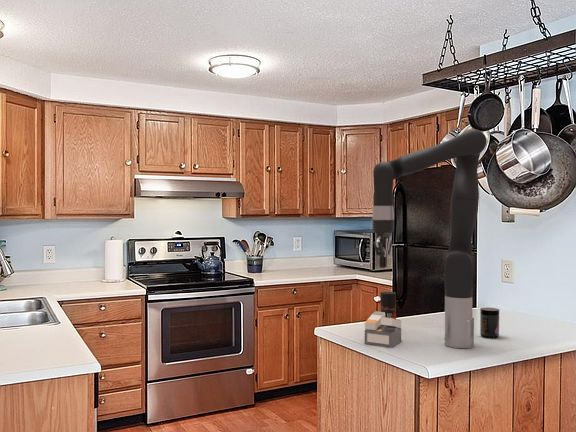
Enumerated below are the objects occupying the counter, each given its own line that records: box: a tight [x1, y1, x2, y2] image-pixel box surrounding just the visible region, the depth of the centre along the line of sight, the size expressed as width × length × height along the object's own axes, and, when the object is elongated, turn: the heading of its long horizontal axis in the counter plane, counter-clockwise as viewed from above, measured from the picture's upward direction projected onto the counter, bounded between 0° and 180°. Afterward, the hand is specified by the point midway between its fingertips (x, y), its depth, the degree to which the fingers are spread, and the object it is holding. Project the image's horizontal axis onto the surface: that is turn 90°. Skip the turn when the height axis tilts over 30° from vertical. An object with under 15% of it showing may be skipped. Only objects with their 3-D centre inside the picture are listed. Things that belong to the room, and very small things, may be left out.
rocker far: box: [364, 310, 385, 330], centre depth 193 cm, size 4×10×3 cm, turn 149°
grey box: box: [364, 325, 402, 349], centre depth 191 cm, size 10×10×6 cm
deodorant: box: [380, 291, 397, 327], centre depth 210 cm, size 6×6×15 cm
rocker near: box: [381, 317, 402, 328], centre depth 190 cm, size 4×10×3 cm, turn 149°
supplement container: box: [479, 307, 500, 340], centre depth 200 cm, size 7×7×10 cm
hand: (383, 267), depth 191 cm, fingers closed
